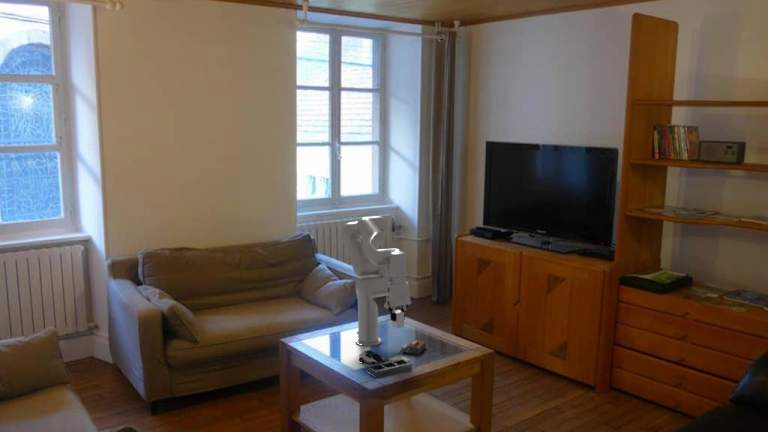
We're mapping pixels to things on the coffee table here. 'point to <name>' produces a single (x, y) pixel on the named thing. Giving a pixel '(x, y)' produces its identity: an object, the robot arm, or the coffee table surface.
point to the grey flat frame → (389, 367)
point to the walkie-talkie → (413, 347)
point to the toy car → (371, 357)
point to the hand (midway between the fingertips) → (397, 319)
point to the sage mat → (398, 358)
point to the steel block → (398, 319)
